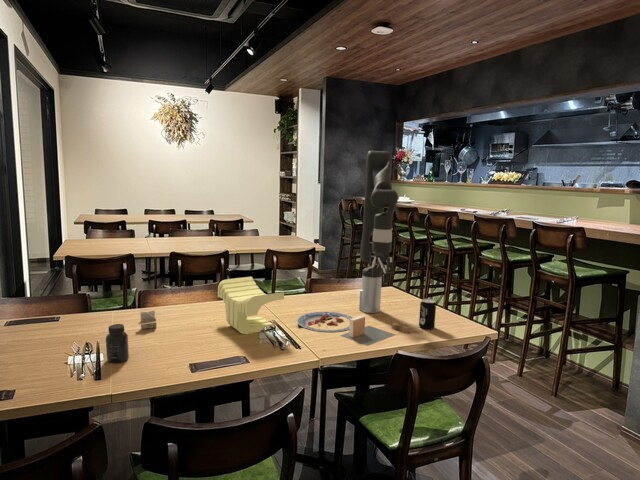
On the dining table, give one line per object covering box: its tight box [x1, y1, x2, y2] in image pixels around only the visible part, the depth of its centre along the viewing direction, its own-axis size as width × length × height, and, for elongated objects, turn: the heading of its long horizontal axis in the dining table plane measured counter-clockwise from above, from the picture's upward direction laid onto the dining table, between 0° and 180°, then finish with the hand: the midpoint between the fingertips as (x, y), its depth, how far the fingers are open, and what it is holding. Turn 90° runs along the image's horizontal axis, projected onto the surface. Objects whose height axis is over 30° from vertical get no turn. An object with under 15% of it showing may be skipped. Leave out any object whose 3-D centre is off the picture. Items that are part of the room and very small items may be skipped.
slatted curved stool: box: [217, 276, 285, 335], centre depth 188 cm, size 30×16×18 cm, turn 34°
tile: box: [348, 315, 366, 338], centre depth 179 cm, size 2×7×7 cm, turn 135°
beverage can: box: [418, 298, 437, 331], centre depth 195 cm, size 7×7×12 cm
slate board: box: [340, 325, 397, 347], centre depth 180 cm, size 14×18×2 cm
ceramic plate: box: [296, 311, 354, 333], centre depth 195 cm, size 26×26×3 cm
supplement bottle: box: [105, 323, 130, 365], centre depth 153 cm, size 7×7×12 cm
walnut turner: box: [391, 322, 411, 334], centre depth 189 cm, size 13×6×4 cm, turn 45°
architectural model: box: [137, 310, 158, 330], centre depth 183 cm, size 3×7×7 cm, turn 124°
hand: (380, 279), depth 182 cm, fingers open, 8 cm apart
